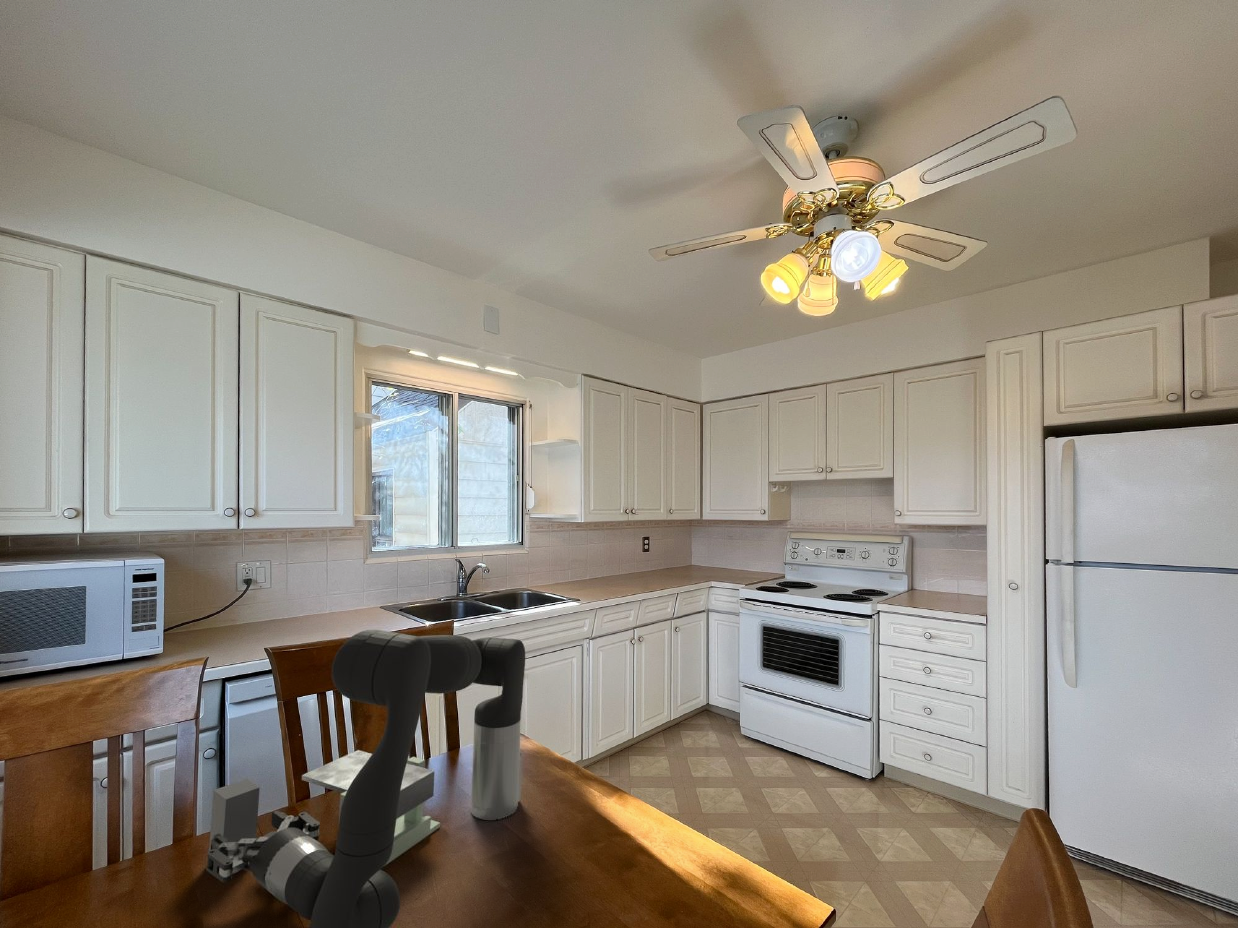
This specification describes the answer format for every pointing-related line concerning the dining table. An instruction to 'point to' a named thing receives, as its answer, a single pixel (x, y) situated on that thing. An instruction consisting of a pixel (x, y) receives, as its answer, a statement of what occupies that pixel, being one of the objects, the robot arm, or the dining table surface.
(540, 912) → the dining table surface
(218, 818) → the basalt block
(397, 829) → the frame
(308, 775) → the trapdoor
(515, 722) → the robot arm
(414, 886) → the dining table surface
